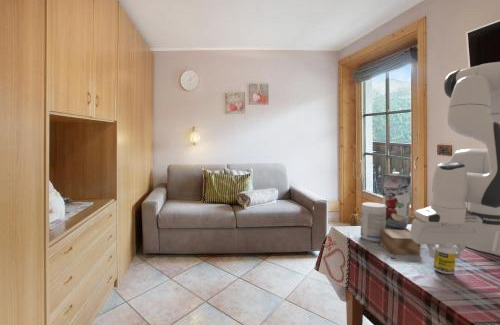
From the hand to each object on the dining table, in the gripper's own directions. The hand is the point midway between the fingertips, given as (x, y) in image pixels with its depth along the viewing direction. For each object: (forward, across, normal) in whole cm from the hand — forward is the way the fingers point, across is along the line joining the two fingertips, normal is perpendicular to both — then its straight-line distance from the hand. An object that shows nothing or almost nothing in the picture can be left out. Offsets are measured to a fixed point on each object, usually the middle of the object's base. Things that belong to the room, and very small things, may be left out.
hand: (444, 257), depth 86 cm
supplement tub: (+5, +11, -29) cm, 31 cm away
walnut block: (+5, +5, -18) cm, 19 cm away
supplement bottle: (+4, 0, 0) cm, 4 cm away
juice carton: (+6, -6, -46) cm, 47 cm away
